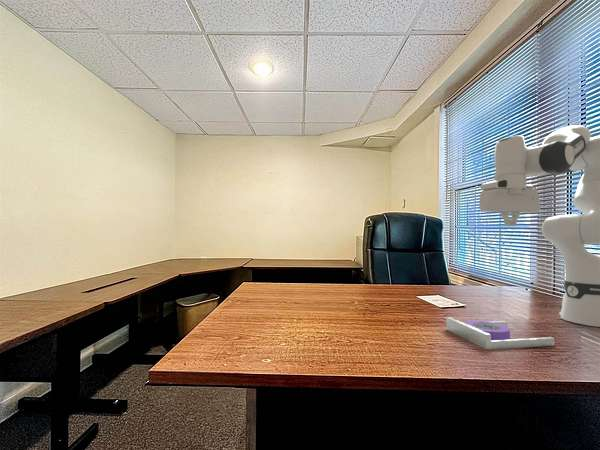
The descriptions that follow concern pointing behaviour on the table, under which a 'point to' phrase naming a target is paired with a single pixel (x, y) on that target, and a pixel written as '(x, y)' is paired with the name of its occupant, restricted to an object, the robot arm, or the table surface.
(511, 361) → the table surface
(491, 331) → the masking tape
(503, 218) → the robot arm
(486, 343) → the guide channel
